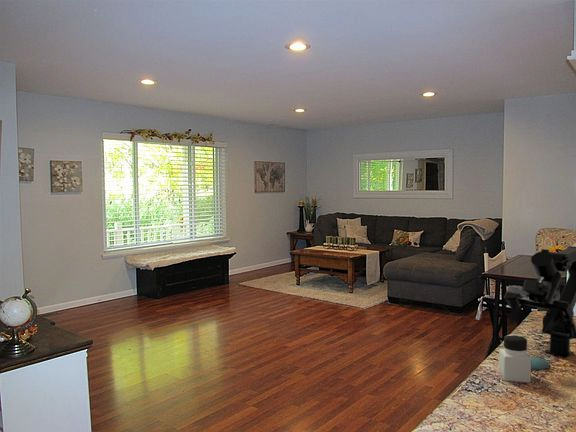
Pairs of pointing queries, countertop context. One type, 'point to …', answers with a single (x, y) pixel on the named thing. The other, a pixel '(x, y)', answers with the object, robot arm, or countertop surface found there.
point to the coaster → (538, 363)
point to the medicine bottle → (515, 359)
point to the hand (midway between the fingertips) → (527, 328)
